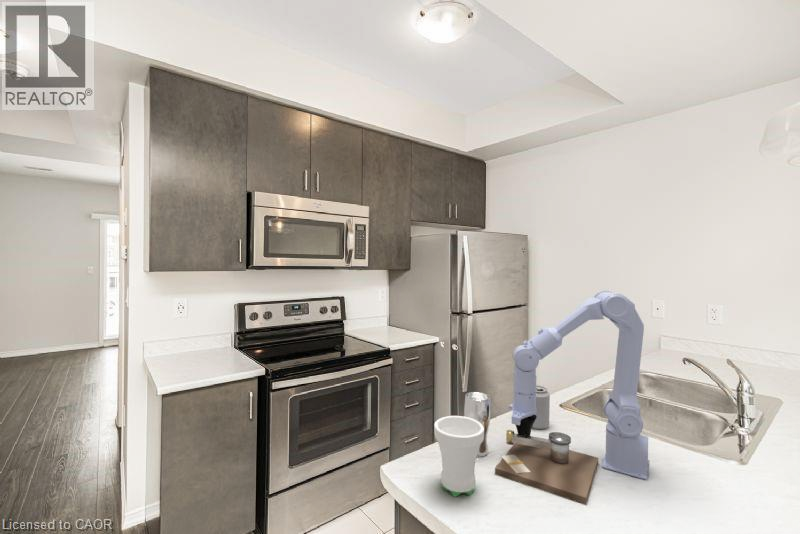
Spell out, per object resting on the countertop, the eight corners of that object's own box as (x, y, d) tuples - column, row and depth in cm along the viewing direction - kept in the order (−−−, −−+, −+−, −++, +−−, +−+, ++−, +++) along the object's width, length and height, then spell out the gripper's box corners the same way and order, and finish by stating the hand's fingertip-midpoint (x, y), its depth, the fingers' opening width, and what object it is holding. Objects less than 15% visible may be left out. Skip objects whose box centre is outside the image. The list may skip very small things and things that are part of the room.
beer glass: (471, 442, 108) (472, 389, 108) (494, 450, 103) (495, 395, 103) (459, 451, 102) (459, 396, 102) (482, 460, 98) (483, 402, 98)
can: (545, 432, 114) (545, 393, 114) (520, 426, 119) (520, 388, 118) (552, 424, 120) (552, 386, 120) (528, 418, 125) (529, 382, 124)
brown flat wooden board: (598, 463, 97) (598, 456, 97) (586, 504, 81) (586, 496, 81) (517, 441, 109) (517, 435, 109) (492, 473, 92) (492, 465, 92)
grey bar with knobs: (570, 455, 97) (570, 434, 97) (571, 466, 92) (571, 443, 92) (507, 444, 103) (507, 423, 103) (505, 453, 98) (505, 431, 98)
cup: (491, 499, 82) (492, 434, 82) (442, 506, 80) (443, 439, 79) (471, 471, 93) (472, 413, 93) (427, 476, 91) (428, 417, 90)
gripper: (518, 381, 109) (517, 428, 109) (500, 396, 97) (499, 448, 97) (543, 386, 105) (543, 435, 105) (528, 402, 93) (527, 457, 93)
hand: (523, 442), depth 101 cm, fingers closed
